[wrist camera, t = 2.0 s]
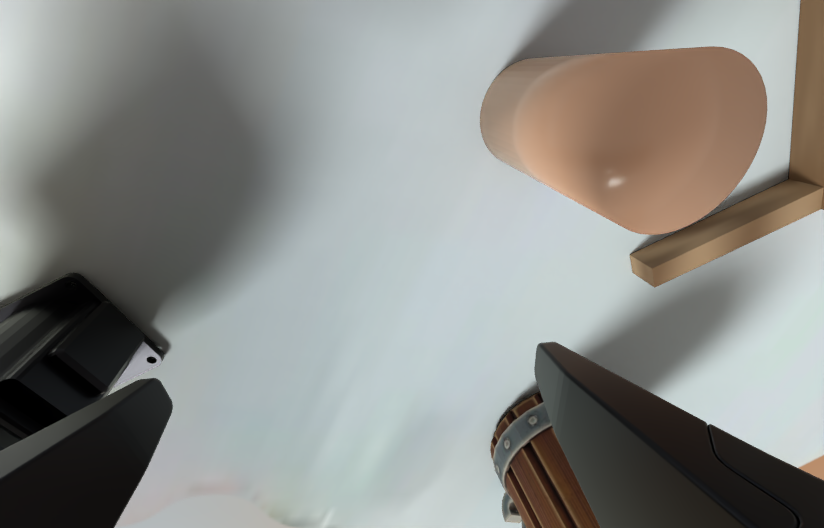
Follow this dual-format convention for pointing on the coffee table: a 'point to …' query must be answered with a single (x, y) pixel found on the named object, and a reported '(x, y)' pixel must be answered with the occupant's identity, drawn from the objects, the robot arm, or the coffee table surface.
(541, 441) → the mug
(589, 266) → the coffee table surface
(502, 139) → the tan cylinder
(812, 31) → the bay
